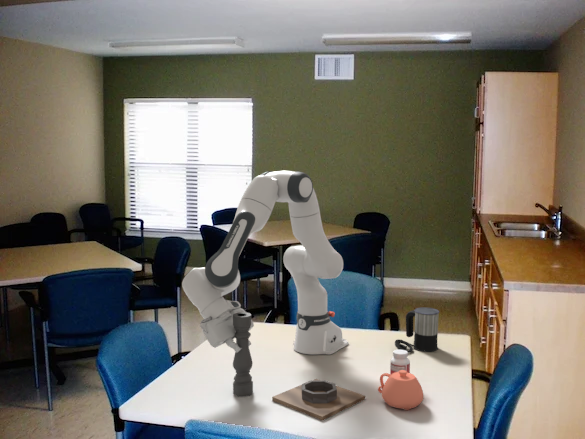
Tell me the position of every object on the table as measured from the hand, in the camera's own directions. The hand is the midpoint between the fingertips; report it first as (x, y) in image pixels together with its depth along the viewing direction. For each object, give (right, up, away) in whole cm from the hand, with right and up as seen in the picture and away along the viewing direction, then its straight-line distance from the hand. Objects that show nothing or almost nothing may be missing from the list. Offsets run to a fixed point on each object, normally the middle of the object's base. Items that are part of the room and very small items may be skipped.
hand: (244, 348), depth 192 cm
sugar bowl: (+47, -15, -6) cm, 50 cm away
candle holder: (-1, -14, +2) cm, 15 cm away
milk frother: (+62, -9, +43) cm, 76 cm away
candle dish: (+23, -15, -4) cm, 28 cm away
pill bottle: (+50, -14, +8) cm, 52 cm away
